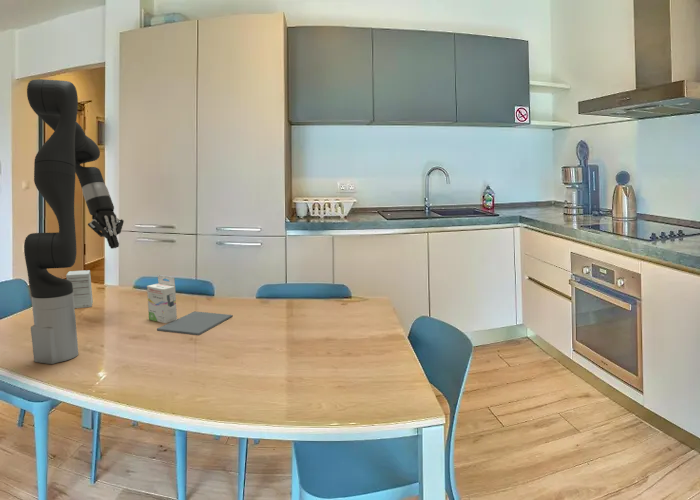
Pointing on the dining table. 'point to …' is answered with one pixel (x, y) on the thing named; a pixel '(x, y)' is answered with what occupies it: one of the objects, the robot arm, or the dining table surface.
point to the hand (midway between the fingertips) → (115, 247)
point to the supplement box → (81, 288)
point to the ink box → (162, 300)
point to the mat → (195, 323)
